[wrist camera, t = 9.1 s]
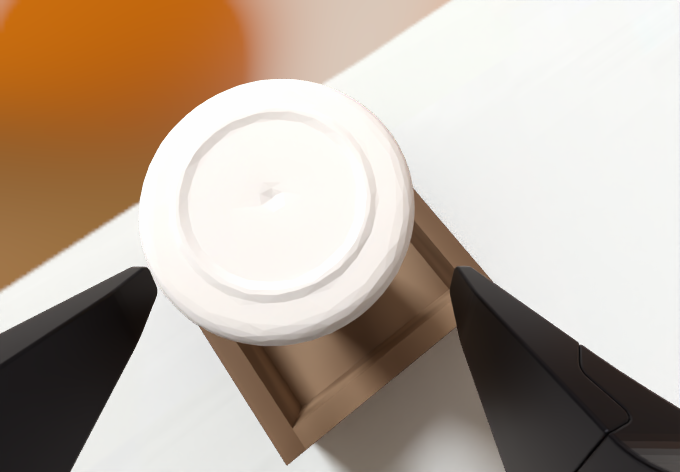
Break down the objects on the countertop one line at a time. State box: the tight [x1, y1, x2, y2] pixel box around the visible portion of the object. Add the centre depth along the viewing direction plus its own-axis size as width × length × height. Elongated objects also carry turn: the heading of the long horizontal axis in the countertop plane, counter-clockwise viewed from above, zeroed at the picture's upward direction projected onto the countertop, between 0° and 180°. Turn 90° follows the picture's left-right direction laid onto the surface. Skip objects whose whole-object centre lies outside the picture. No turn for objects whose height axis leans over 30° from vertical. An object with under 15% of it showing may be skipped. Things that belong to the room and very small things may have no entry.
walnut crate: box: [199, 189, 493, 465], centre depth 17 cm, size 12×12×4 cm
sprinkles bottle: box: [139, 79, 415, 346], centre depth 12 cm, size 5×5×14 cm
